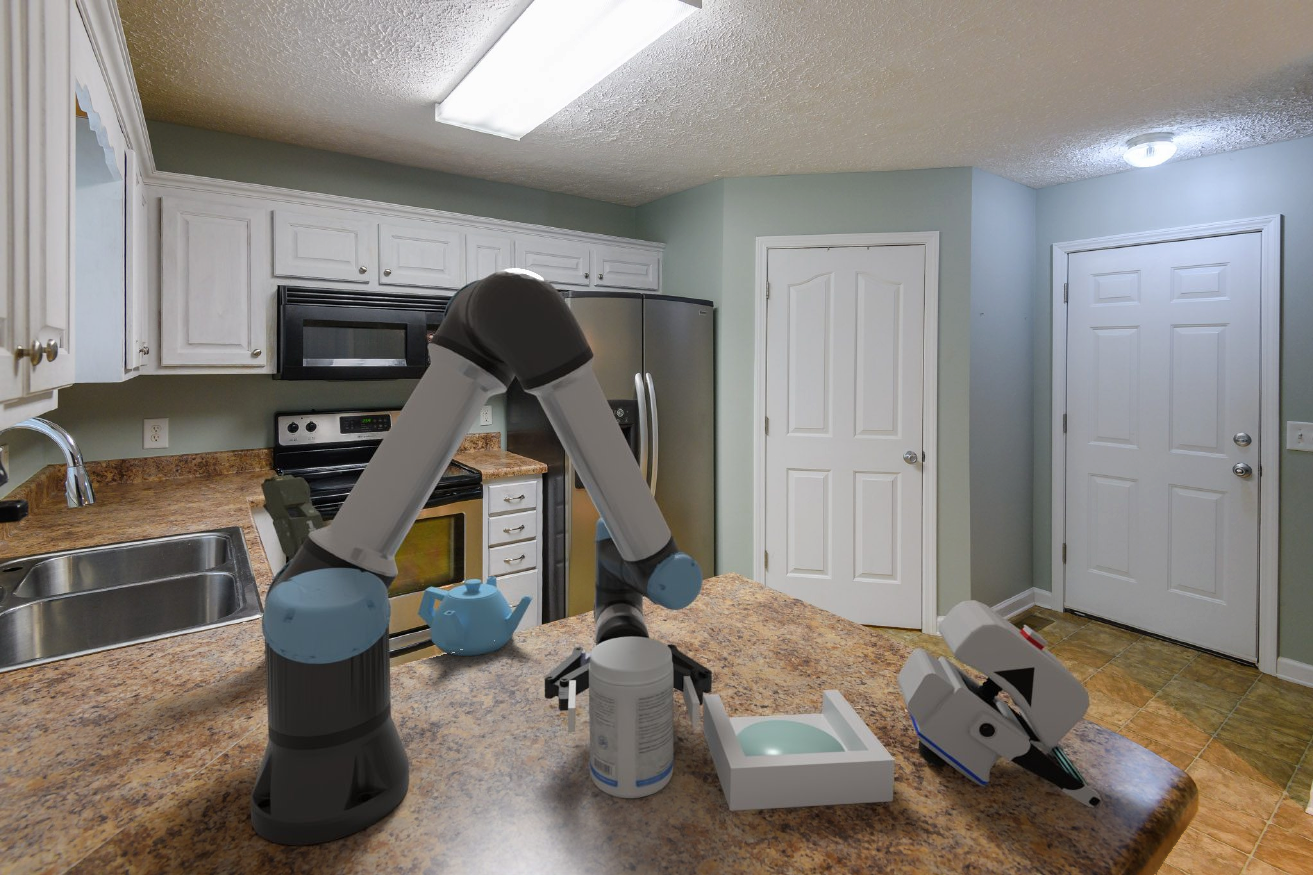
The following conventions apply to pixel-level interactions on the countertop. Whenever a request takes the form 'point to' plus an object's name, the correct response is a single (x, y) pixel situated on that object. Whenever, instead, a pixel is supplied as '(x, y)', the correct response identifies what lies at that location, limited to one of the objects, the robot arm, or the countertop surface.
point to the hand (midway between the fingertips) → (634, 717)
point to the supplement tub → (631, 716)
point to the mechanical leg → (290, 511)
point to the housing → (797, 757)
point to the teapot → (471, 617)
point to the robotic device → (995, 701)
